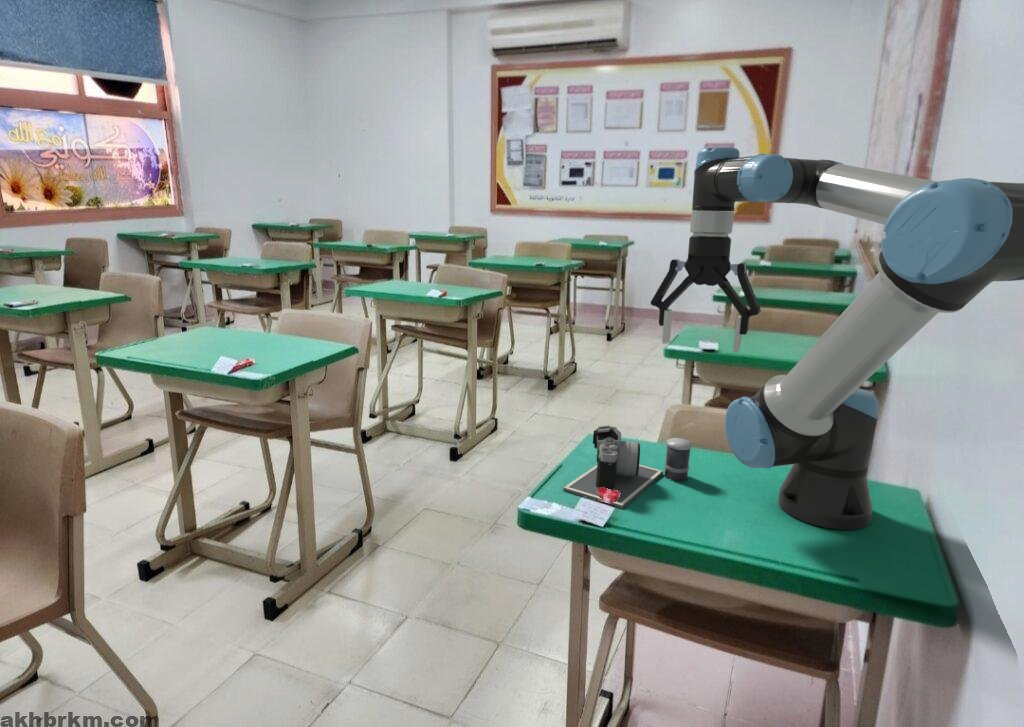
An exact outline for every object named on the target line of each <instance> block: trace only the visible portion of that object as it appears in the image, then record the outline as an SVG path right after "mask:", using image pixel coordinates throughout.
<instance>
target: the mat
mask: <svg viewBox="0 0 1024 727" xmlns="http://www.w3.org/2000/svg"><path fill="white" fill-rule="evenodd" d="M662 474H664V471H663V470H660V469H656V468H652V467H649V466H645V465H643V464H642V465H641V464H639V471H638V475H637V476H629V475H627V476H624V475H615V488H614V490H618V491H620V493H621V494H620V497H619V499H618V500H617V501H616V502H613V503H614V504H615V505H614V506H615V508H618V509H621V510H623V509H624V508H626V507H627V506H628V505H629V504H630V503H631V502H633V501H634V500H635V499H636V498H637V497H638V496H640V495H641V494H642V493H643V492H644V491H645V490H646V489H647V488H649V486H651V485H652V484H653V483H654V482H656V481H657V480H658V479H659V478H661V477H662V476H663V475H662ZM596 476H597V464H596V465H595V466H593V467H592V468H590V469H589V470H588V471H586V472H584V473H583V474H581V475H579V476H578V477H577V478H575V479H574V480H572V481H570V482H569V483H568V484H567V485H566V486H564V487H563V489H562V490H563V492H566V493H569V494H572V495H576V496H580V497H582V496H586V497H588V498H591V499H590V500H592V499H595V500H598V499H599V500H601V499H602V498H600V497H599V496H598V493H597V490H596ZM588 498H587V499H588ZM595 500H594V501H595ZM614 506H613V507H614Z"/></svg>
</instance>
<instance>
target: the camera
mask: <svg viewBox="0 0 1024 727" xmlns="http://www.w3.org/2000/svg"><path fill="white" fill-rule="evenodd" d="M592 436H593V437H592V444H594V446H593V448H594V449H596V450H597V452H596V463H597V464H596V465H597V476H596V490H598V487H605V488H608V489H611V490H614V488H615V475H624V476H627V475H629V476H637V475H638V471H639V465H640V460H641V443H640V442H632V441H630V440H622V432H621V431H620V430H618V428H617V427H615V426H612V425H609V424H608V425H600V426H598V428H596V429H595V430H593V435H592Z"/></svg>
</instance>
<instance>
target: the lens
mask: <svg viewBox="0 0 1024 727" xmlns="http://www.w3.org/2000/svg"><path fill="white" fill-rule="evenodd" d="M692 445H693V444H692V442H691V440H690V441H689V440H688V439H685V438H680V437H672V438H668V439H667V440H666V456H665V457H666V458H665V463H664V475H665V476H664V478H666V477H667V478H668V479H667V478H666V479H667V480H669V479H671V480H670V481H672V480H673V482H678V481H680V482H685V481H687V480H688V474H689V471H690V470H689V469H690V458H691V456H690V455H691V449H692ZM686 479H687V480H686ZM684 480H685V481H684Z"/></svg>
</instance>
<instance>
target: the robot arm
mask: <svg viewBox="0 0 1024 727" xmlns="http://www.w3.org/2000/svg"><path fill="white" fill-rule="evenodd" d="M740 154H741V153H740V150H739V149H738V148H735V147H731V146H728V147H727V146H722V147H721V146H714V147H704V148H701V149H700V150H699V151H698V153H697V155H696V161H695V162H696V163H695V167H694V171H693V174H694V175H693V178H694V179H693V189H692V190H693V193H692V204H691V206H692V208H691V214H690V215H691V217H690V228H689V231H690V233H692V235H690V237H688V238H689V241H688V252H687V259H686V261H684V260H680V258H679V259H678V258H676V259H672V260H671V261H670V263H669V268H668V272H667V274H666V275H665V277H664V279H662V282H661V283H660V285H659V287H658V289H657V290H656V292H655V294H654V295H653V297H652V299H650V300H651V301H650V305H651V306H654V307H656V308H658V309H659V314H658V317H659V318H658V325H659V326H662V327H663V329H662V338H661V339H662V340H661V343H662V344H664V345H666V344H668V343H670V342H671V332H672V331H671V330H672V320H673V319H672V318H673V309H672V308H671V309H670V306H671V305H672V304H674V303H675V302H676V300H677V299H679V298H680V296H682V295H683V293H684V292H685V291H686V290H687V289H689V287H691V286H692V285H693V284H694V285H695V284H696V285H697V286H702V285H706V286H709V287H710V286H711V287H714V286H717V285H718V287H719V288H720V289H721V290H722V291H723V293H724V294H725V295H726V297H727V299H729V302H730V303H731V304H732V305H733V307H734V308H735V309H736V310H737V312H738V314H739V315H738V316H737V317H736V318H735V319H736V321H735V328H734V339H733V349H732V352H733V353H739V352H740V350H741V344H742V335H747V334H748V332H749V327H750V326H749V324H750V318H751V317H752V316H757V315H759V314H760V313H761V312H762V309H761V307H760V305H759V302H758V299H757V297H756V294H755V292H754V289H753V287H752V285H751V281H750V278H749V276H748V268H747V267H748V265H747V263H746V262H741V263H732V264H731V261H730V256H731V247H732V238H731V237H730V236H729V234H730V235H731V234H732V233H733V226H734V215H735V203H736V202H737V203H764V204H765V203H768V204H769V203H770V204H771V203H773V204H777V203H778V204H799V205H808V206H810V207H811V206H812V207H816V208H820V209H824V210H829V211H833V212H837V213H840V214H842V215H843V214H844V215H847V216H851V217H855V218H857V219H858V218H859V219H861V220H866V221H869V222H873V223H877V224H881V225H884V227H883V232H885V237H882V239H881V251H879V254H878V256H877V258H876V259H877V266H878V270H879V271H878V273H876V275H875V276H874V277H873V279H872V280H870V281H869V282H868V284H867V285H866V286H865V287H864V289H863V290H861V291H860V293H858V295H857V296H856V297H855V298H854V299H853V301H852V302H850V304H849V305H848V306H847V308H846V309H845V310H843V312H842V313H841V314H840V315H838V317H837V318H836V320H835V321H834V322H832V323H831V325H830V326H829V327H828V329H827V330H826V331H825V332H824V333H823V334H822V335H821V336H820V337H819V339H817V341H816V342H815V343H814V344H813V345H812V346H811V347H810V349H808V351H807V352H806V353H805V354H804V355H803V356H802V358H800V359H799V360H798V362H797V363H796V364H795V365H794V367H793V368H791V370H790V371H789V372H788V373H787V374H777V375H775V376H773V377H771V378H770V379H768V380H767V382H766V383H765V384H764V385H763V386H762V388H760V389H759V390H758V392H757V393H756V394H754V395H752V396H750V397H749V396H742V397H740V398H737V399H734V400H732V402H731V403H730V404H729V405H728V407H727V409H726V411H725V415H724V416H725V417H724V428H725V429H724V430H725V431H724V432H725V437H726V441H727V443H728V446H729V448H730V450H731V452H732V453H733V455H734V457H735V458H736V459H737V460H738V461H739V462H740V463H741V464H742V465H744V466H747V467H748V468H751V469H772V468H774V467H780V466H781V467H782V466H788V465H791V468H790V470H789V472H788V473H787V475H786V476H785V479H784V481H783V482H782V483H781V486H780V488H779V490H778V498H777V504H778V505H779V507H780V508H781V509H782V510H783V511H784V512H785V513H787V515H790V516H792V517H793V518H795V519H797V520H800V521H801V522H805V523H807V524H810V525H814V526H818V527H820V528H825V529H830V530H831V529H832V530H842V531H843V530H844V531H847V530H848V531H852V530H853V531H854V530H859V529H862V528H865V527H867V526H869V525H870V523H871V520H872V515H873V504H872V499H871V494H870V489H869V482H868V478H867V477H868V471H869V466H870V459H871V454H872V450H873V445H874V438H875V433H876V428H877V422H878V421H879V416H878V415H879V414H878V413H879V406H880V405H879V404H880V402H879V399H878V398H877V396H875V394H874V393H871V392H870V391H869V390H864V389H862V388H860V387H861V386H862V385H864V384H865V383H866V382H867V380H869V379H870V378H871V376H873V375H874V374H875V373H876V372H877V371H878V370H879V369H880V368H881V367H883V366H884V364H886V363H887V362H888V361H889V359H891V358H892V357H893V356H894V355H895V354H896V353H898V351H900V349H901V348H903V346H905V345H906V344H907V343H908V342H909V341H910V340H911V339H912V338H913V337H914V336H916V335H917V333H919V332H920V331H921V330H922V329H923V328H924V327H926V325H927V324H928V323H929V322H931V320H932V319H934V318H935V317H936V316H937V314H939V313H946V314H947V313H948V314H951V313H956V312H959V311H960V310H962V309H963V308H965V306H967V305H968V304H969V302H971V301H972V300H974V298H975V297H977V296H978V295H979V294H980V293H981V292H982V291H983V290H984V289H985V288H986V287H987V286H988V285H990V284H991V283H993V282H1012V281H1013V282H1015V281H1024V182H1023V183H1020V182H1005V181H1004V182H1002V181H999V182H997V181H987V180H983V179H977V178H973V177H972V178H971V177H967V178H965V177H964V178H955V179H948V180H947V179H945V180H938V181H937V180H932V179H931V180H930V179H926V178H920V177H914V176H911V175H910V176H909V175H903V174H897V173H892V172H887V171H881V170H877V169H869V168H865V167H859V166H854V165H848V164H844V163H842V162H840V161H835V160H831V159H806V158H795V157H794V158H792V157H783V155H781V154H780V155H779V154H774V153H773V154H771V153H770V154H769V153H768V154H767V153H759V154H757V155H751V156H750V155H749V156H743V157H740V156H741V155H740ZM683 268H684V270H685V271H686V272H687V274H688V275H687V276H686V277H685V278H684V279H683V280H682V282H681V283H680V284H679V285H678V286H677V287H676V288H675V289H674V290H672V292H671V293H670V294H669V295H668V296H667V297H666V298H665V299H664V297H665V296H666V294H667V292H668V290H669V289H670V287H671V285H672V284H673V282H674V280H675V278H676V277H677V276H678V274H679V272H681V271H682V269H683ZM731 271H732V272H733V274H734V275H735V276H737V278H738V282H739V284H740V286H741V287H740V288H741V289H742V292H743V295H744V298H745V300H746V303H747V305H748V307H749V308H748V307H747V306H746V304H745V302H743V300H742V299H741V297H740V296H739V294H738V293H737V291H735V289H734V287H733V285H731V283H730V281H729V280H728V278H727V277H726V276H727V275H728V274H729V273H730V272H731ZM663 299H664V300H663Z"/></svg>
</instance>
